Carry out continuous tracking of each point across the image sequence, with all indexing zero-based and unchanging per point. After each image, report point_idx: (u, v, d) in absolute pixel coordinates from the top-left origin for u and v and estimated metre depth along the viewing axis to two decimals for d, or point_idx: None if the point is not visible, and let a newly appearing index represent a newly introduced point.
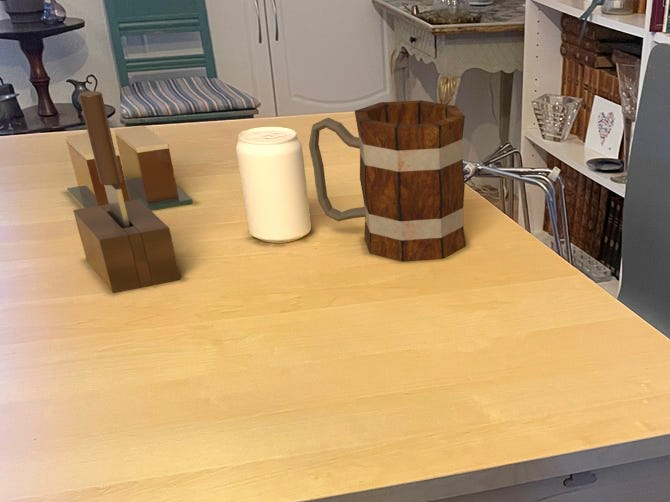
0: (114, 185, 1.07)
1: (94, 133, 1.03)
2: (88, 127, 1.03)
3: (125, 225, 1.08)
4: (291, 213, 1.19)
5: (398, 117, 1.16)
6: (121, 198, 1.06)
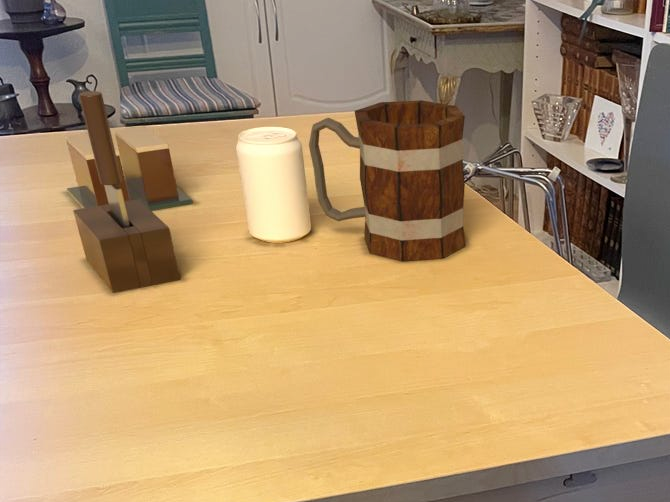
0: (114, 185, 1.07)
1: (94, 133, 1.03)
2: (88, 127, 1.03)
3: (125, 225, 1.08)
4: (291, 214, 1.19)
5: (398, 117, 1.16)
6: (121, 198, 1.06)
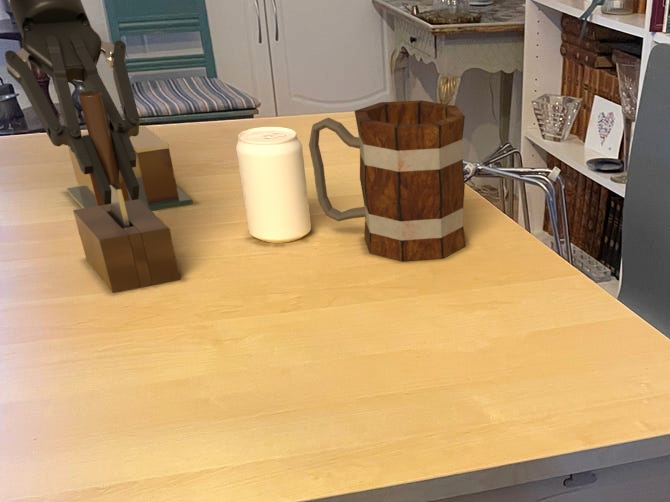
0: (114, 185, 1.07)
1: (94, 133, 1.03)
2: (88, 127, 1.03)
3: (125, 225, 1.08)
4: (291, 214, 1.19)
5: (398, 117, 1.16)
6: (121, 198, 1.06)
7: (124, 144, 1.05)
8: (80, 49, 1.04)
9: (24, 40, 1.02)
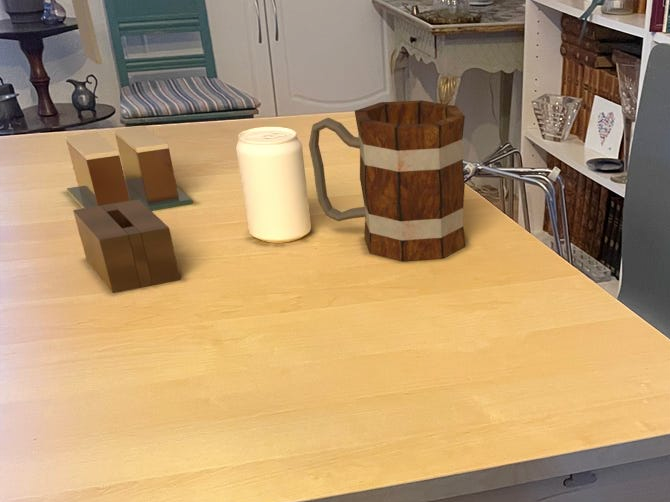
0: None
1: None
2: None
3: (84, 4, 1.10)
4: (291, 214, 1.19)
5: (398, 117, 1.16)
6: None
7: None
8: None
9: None
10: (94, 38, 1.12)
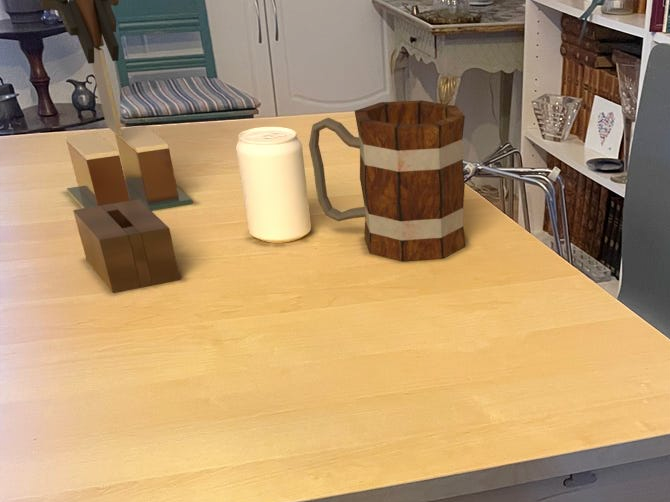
0: (97, 47, 1.21)
1: None
2: None
3: (107, 84, 1.23)
4: (291, 214, 1.19)
5: (398, 117, 1.16)
6: (103, 58, 1.21)
7: (105, 10, 1.20)
8: None
9: None
10: (116, 113, 1.25)
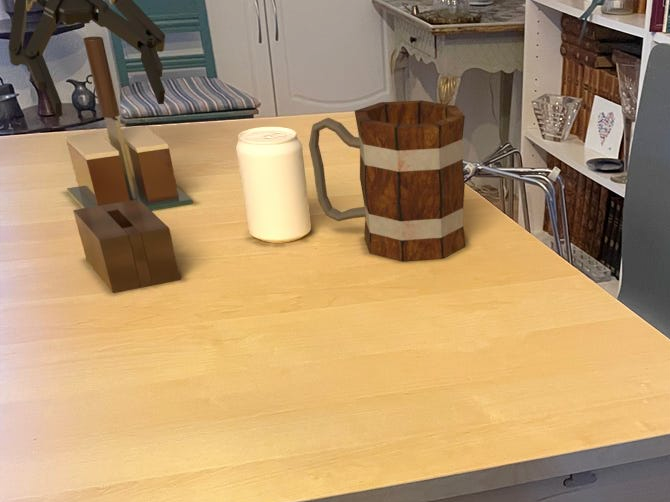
0: (113, 117, 1.27)
1: (96, 72, 1.23)
2: (91, 67, 1.23)
3: (122, 152, 1.28)
4: (291, 214, 1.19)
5: (398, 117, 1.16)
6: (119, 128, 1.26)
7: (152, 56, 1.27)
8: None
9: None
10: (130, 179, 1.31)
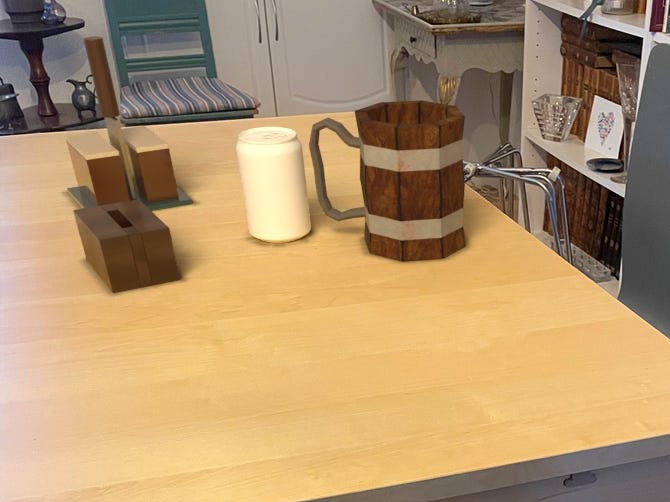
0: (113, 117, 1.27)
1: (96, 72, 1.23)
2: (91, 67, 1.23)
3: (122, 152, 1.28)
4: (291, 214, 1.19)
5: (398, 117, 1.16)
6: (119, 128, 1.26)
7: None
8: None
9: None
10: (130, 179, 1.31)
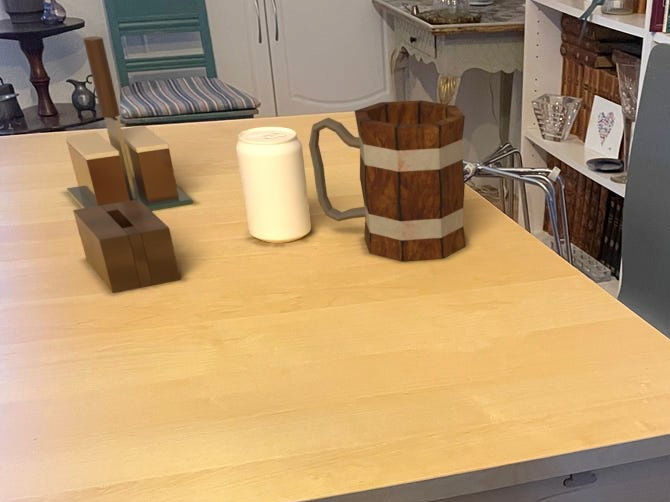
0: (113, 117, 1.27)
1: (96, 72, 1.23)
2: (91, 67, 1.23)
3: (122, 152, 1.28)
4: (291, 214, 1.19)
5: (398, 117, 1.16)
6: (119, 128, 1.26)
7: None
8: None
9: None
10: (130, 179, 1.31)
